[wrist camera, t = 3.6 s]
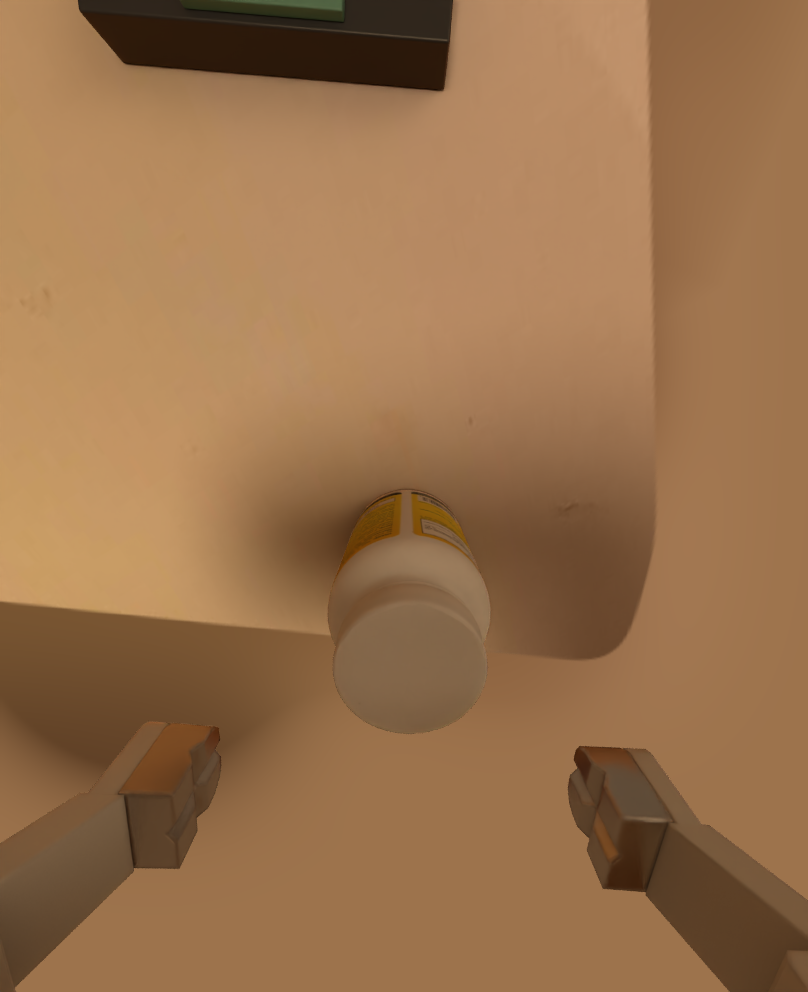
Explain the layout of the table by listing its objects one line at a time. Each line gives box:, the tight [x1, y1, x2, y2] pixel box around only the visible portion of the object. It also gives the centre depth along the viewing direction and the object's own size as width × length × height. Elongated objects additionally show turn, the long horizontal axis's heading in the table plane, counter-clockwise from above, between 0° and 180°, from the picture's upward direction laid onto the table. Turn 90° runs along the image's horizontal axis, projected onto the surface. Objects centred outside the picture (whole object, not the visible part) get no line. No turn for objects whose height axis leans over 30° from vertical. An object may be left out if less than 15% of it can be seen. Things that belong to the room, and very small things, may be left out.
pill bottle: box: [328, 490, 491, 734], centre depth 17 cm, size 6×6×11 cm
